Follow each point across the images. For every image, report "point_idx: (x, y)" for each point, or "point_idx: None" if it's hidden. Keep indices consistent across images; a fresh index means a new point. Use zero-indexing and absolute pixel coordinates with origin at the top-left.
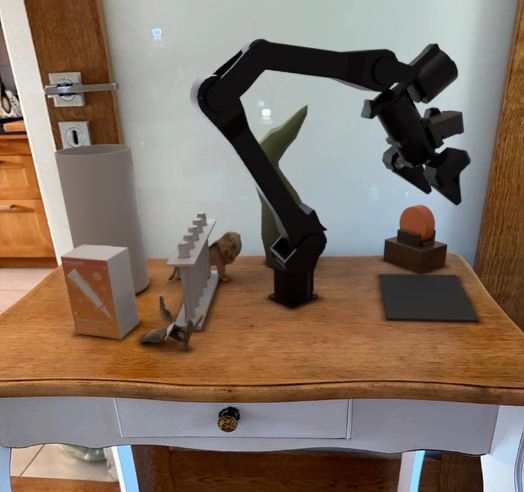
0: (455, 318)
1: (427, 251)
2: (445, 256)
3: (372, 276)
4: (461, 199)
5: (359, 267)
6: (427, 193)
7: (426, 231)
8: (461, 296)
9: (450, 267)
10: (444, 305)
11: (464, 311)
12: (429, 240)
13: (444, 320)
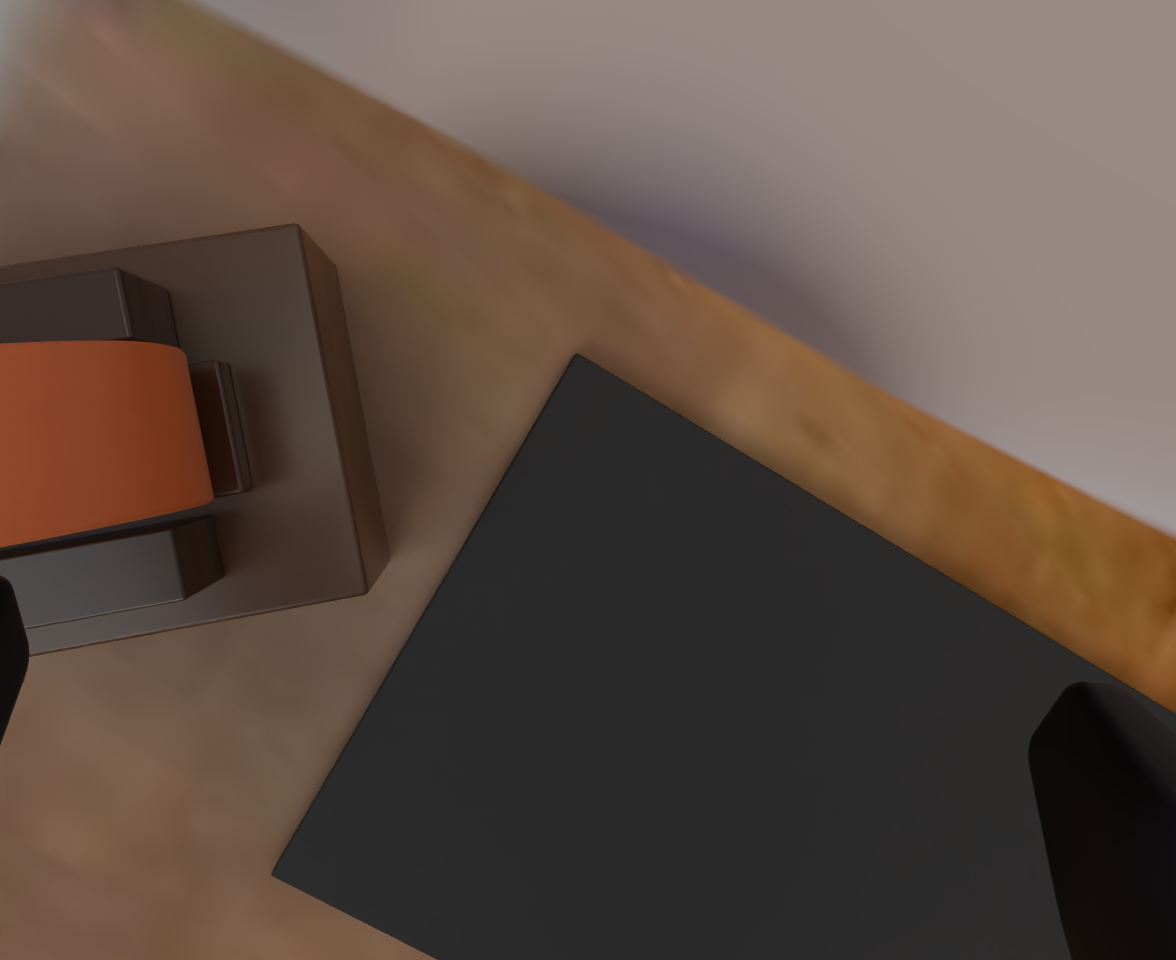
0: None
1: (355, 516)
2: (323, 257)
3: (252, 922)
4: (1164, 723)
5: (5, 912)
6: (18, 676)
7: (211, 491)
8: (931, 608)
9: (375, 236)
10: (991, 803)
11: None
12: None
13: None
